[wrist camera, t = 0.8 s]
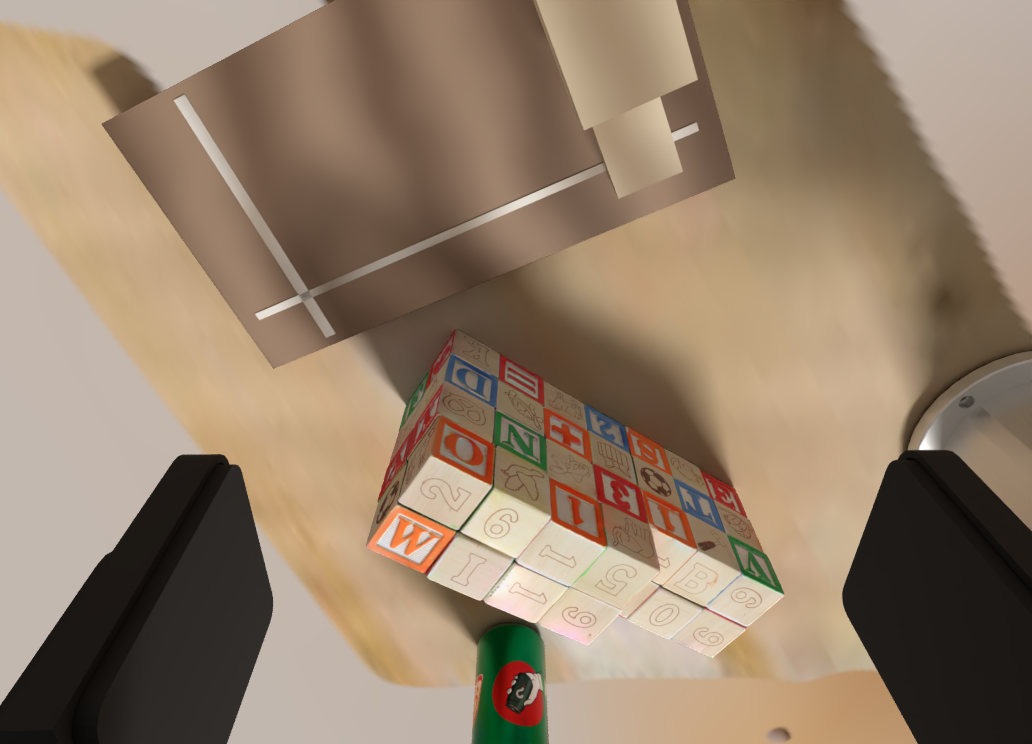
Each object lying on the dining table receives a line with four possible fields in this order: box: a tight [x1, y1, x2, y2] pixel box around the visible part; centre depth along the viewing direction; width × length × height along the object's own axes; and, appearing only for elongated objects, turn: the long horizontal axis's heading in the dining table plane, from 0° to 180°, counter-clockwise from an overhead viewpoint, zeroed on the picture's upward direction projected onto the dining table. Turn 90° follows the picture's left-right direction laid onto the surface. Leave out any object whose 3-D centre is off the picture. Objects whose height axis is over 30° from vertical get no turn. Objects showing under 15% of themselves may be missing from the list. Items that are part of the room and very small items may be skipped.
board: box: [102, 0, 735, 369], centre depth 32 cm, size 26×14×2 cm, turn 114°
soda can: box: [472, 623, 549, 744], centre depth 46 cm, size 5×5×12 cm
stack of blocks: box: [366, 330, 784, 658], centre depth 37 cm, size 21×6×12 cm, turn 57°
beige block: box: [533, 0, 698, 199], centre depth 25 cm, size 6×15×10 cm, turn 23°
